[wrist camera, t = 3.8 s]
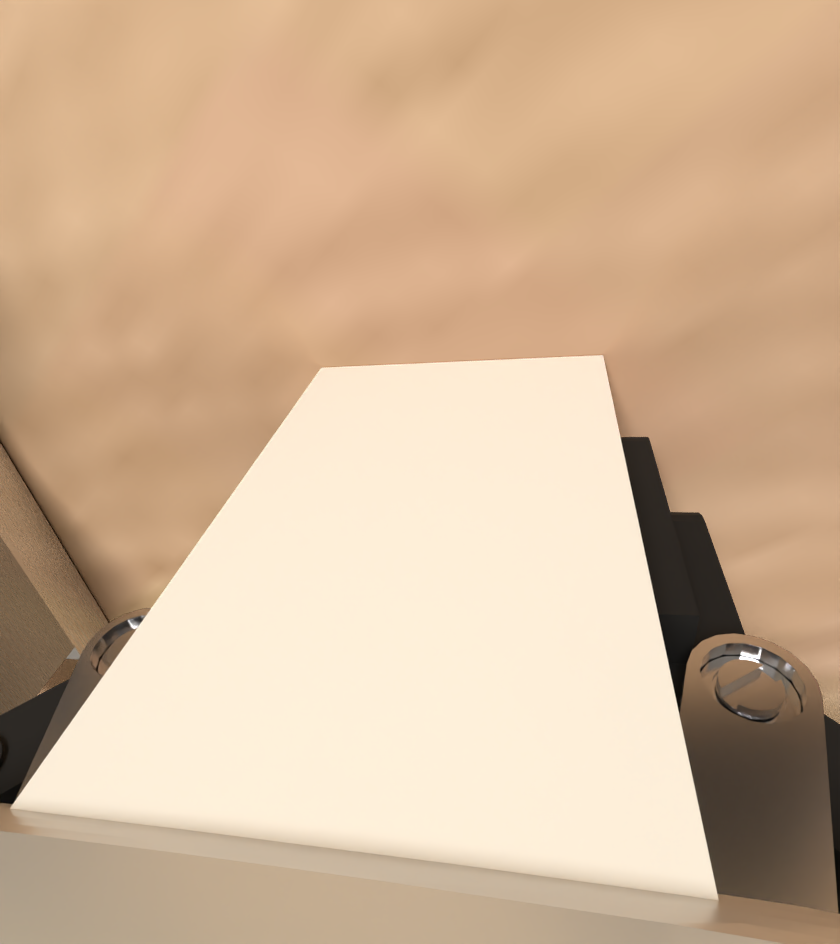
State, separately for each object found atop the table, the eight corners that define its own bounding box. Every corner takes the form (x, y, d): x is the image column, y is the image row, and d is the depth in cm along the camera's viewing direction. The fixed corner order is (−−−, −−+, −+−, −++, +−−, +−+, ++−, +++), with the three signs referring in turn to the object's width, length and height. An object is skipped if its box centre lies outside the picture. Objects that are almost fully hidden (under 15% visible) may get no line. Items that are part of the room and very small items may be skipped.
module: (602, 355, 10) (727, 949, 3) (591, 572, 13) (647, 1136, 6) (321, 367, 11) (-16, 844, 4) (366, 566, 14) (205, 1043, 7)
